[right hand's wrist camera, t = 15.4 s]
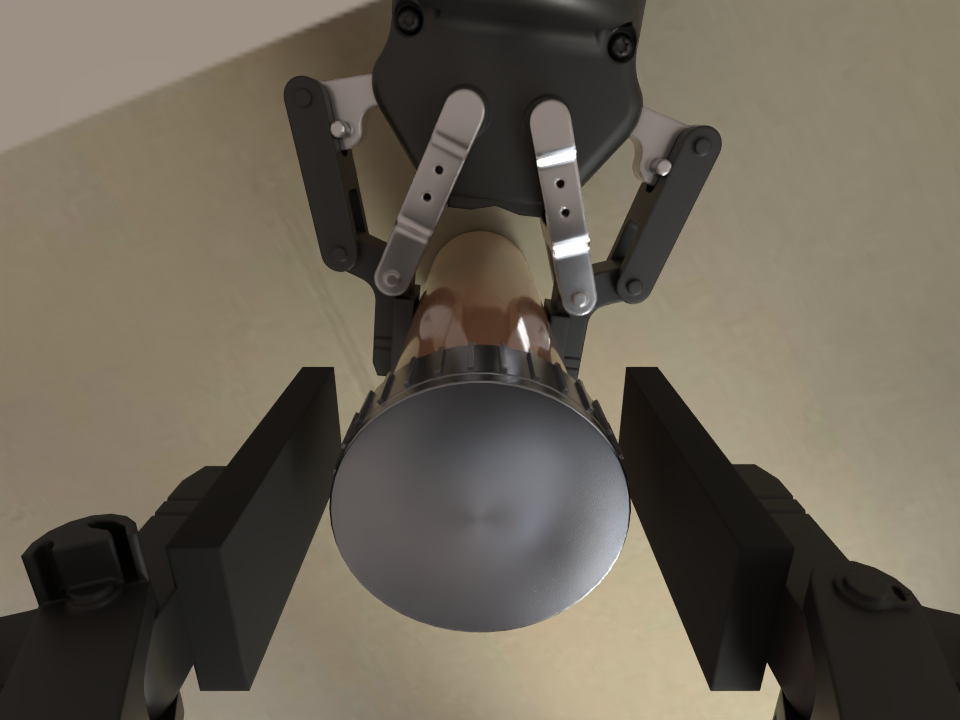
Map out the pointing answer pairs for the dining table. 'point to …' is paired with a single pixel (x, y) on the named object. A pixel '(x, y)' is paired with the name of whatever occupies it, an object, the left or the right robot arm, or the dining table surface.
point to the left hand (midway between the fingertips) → (473, 390)
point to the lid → (480, 490)
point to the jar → (480, 301)
